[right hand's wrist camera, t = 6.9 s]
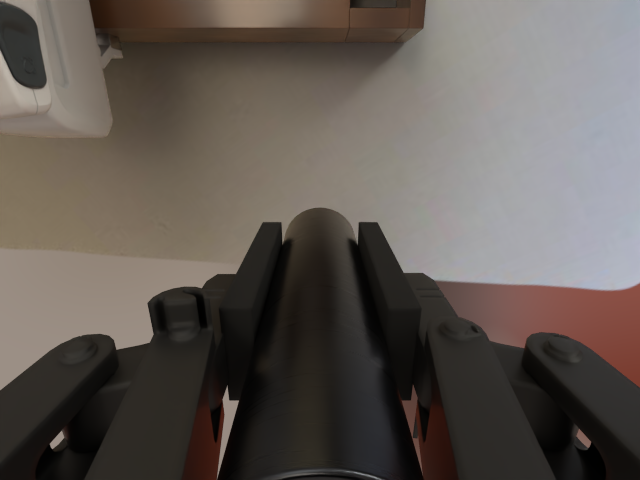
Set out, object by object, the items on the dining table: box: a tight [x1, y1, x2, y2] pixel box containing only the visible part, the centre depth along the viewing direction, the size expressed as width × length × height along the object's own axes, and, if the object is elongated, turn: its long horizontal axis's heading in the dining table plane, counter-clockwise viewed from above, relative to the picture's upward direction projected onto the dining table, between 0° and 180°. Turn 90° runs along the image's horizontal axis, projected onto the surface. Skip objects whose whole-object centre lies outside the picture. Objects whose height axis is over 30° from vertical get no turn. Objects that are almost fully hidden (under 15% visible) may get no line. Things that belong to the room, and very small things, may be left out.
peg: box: [217, 208, 424, 480], centre depth 10 cm, size 3×3×12 cm
